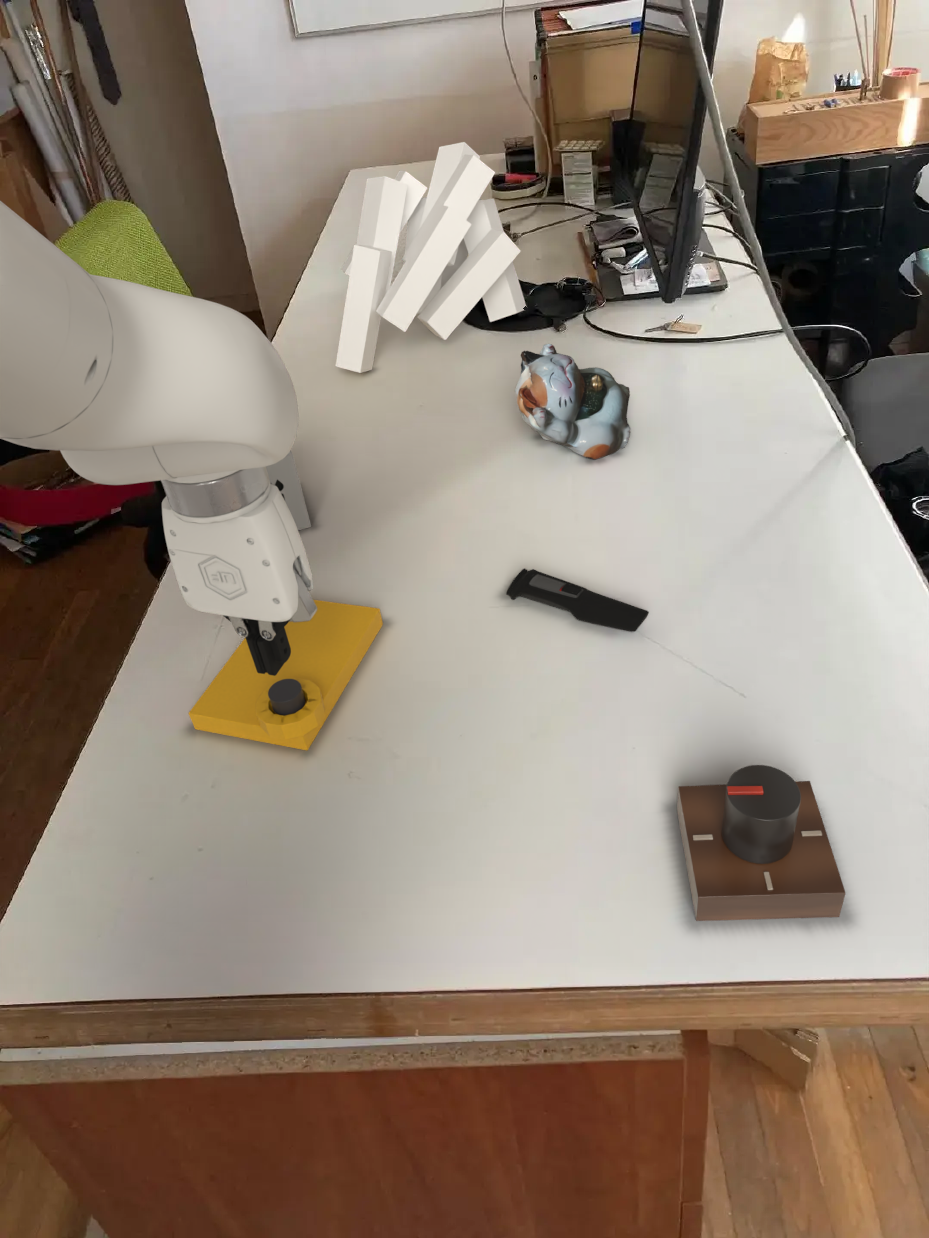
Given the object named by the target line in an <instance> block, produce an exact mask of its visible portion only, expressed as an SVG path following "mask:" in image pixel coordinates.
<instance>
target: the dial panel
mask: <svg viewBox="0 0 929 1238" xmlns="http://www.w3.org/2000/svg"><path fill="white" fill-rule="evenodd" d="M794 781H795V780H794ZM795 782H796V784H797V786H798V788H799V790H800V794H801V801H800V806H799V812H798V817H797V822H796V828H795V833H794V838H793V843H792V847H791V850H790V851H789V853H788V854H787V855H786V856H785V857H784V858H782V859H780V860H779V861H776V862H773V863H768V864H757V863H751V862H748V861H745V860H743V859H741V858H739V857H737V856H736V855H735V854H733V853H732V852H731V851H730V850H729V849H728V847H727V846H726V844H725V843H724V840H723V837H722V823H723V814H724V805H725V796H726V786H727V783H726V784H703V785H701V784H700V785H679V786H678V788H677V803H676V813H677V818H678V825H679V830H680V836H681V842H682V848H683V853H684V859H685V864H686V871H687V877H688V882H689V883H688V884H689V888H690V894H691V899H692V900H691V901H692V906H693V911H694V917H695V918H694V919H695V921H696V922H708V921H709V922H710V921H711V922H713V921H743V920H748V921H749V920H776V919H777V920H781V919H785V920H786V919H818V918H819V919H821V918H840V917H841V916H840V915H841V912H842V909H843V905H844V900H845V897H846V890H845V886H844V884H843V881H842V877H841V874H840V871H839V867H838V865H837V862H836V858H835V856H834V851H833V850H832V845H831V842H830V839H829V837H828V833H827V830H826V828H825V824H824V821H823V818H822V814H821V812H820V808H819V805H818V802H817V798H816V795H815V793H814V790H813V786H812V784H811V781H810V780H798V781H797V780H796V781H795Z"/></svg>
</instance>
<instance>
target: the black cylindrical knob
mask: <svg viewBox="0 0 929 1238" xmlns="http://www.w3.org/2000/svg"><path fill="white" fill-rule="evenodd" d="M268 696H269V699H270V702H271V705H272V708H273V711H274V712H275V713H276V714H278V715H282V716H285V715H290V714H294V713H296V712H297V711H299V710H301V709H302V708H303V707H304V705H305V697H304V693H303V690H302V687H301V684H300V683H299V682H298V681H297V680H294V679H283V680H280V681H278V682H276V683H274V684H273V685H272V686H271V687H270V689H269V691H268Z"/></svg>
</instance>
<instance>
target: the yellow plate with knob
mask: <svg viewBox="0 0 929 1238" xmlns="http://www.w3.org/2000/svg"><path fill="white" fill-rule="evenodd" d="M313 601H314V602H315V604H316V606H317V611H316V613H315V614H314V616H313V617H312V618H311V620H310V621H305V622H288V623H287V625H286V626H284V628H285V631H286V634H287V638H288V641H289V644H290V648H291V655H290V657H289V659H288V660H287V661H286V662H285V663H284V664H283V666H282V667H281V669H280V670H279V672H278V673H277V675H275V676H273V675H269V674H268V673H265V674H261V673H257V670H256V667H255V664H254V661H253V658H252V656H251V653H250V650H249V647H248V644H247V641H246V638H245V637H243V640H242V641H241V642H240V644H239V645H237V648H236V649H235V650H234V651H233V653H232V654H231V656H229V659H228V660H227V661H226V662H225V663H224V665H223V666H222V668H221V669H220V670H219V671H218V673H217V674H216V676H215V677H214V678H213V680H211V682H210V683H209V685H208V686H207V688H206V689H205V690H204V691H203V693H202V695H201V696H199V698H198V700H197V701H196V702H195V704H194V705H193V706H192V708H191V709H190V710H189V712H188V717H189V718H190V721H191V723H192V726H193V728H194V729H195V730H198V731H202V732H207V733H213V734H219V735H223V736H228V737H234V738H239V739H244V740H249V741H254V742H260V743H265V744H271V745H276V746H280V747H281V746H282V747H287V748H292V749H297V750H303V751H309V749H310V747H311V746H312V744H313V742H314V741H315V739H316V737H317V736H318V734H319V733H320V731H321V729H322V727H323V726H324V724H325V722H326V721H327V719H328V717H329V716H330V714H331V712H332V711H333V710H334V707H335V706H336V704H337V702H338V701H339V699H340V698H341V696H342V694H343V692H344V691H345V689H346V687H347V685H348V684H349V683H350V681H351V679H352V677H353V675H354V674H355V672H356V671H357V669H358V668H359V665H360V664H361V662H362V661H363V659H364V657H365V656H366V654H367V652H368V650H369V649H370V647H371V646H372V644H373V642H374V640H375V639H376V637H377V635H378V634H379V632H380V630H381V629H382V627H383V625H384V621H383V618H382V617H383V616H382V613H381V609H380V608H379V607H372V606H366V605H365V606H364V605H356V604H349V603H348V604H347V603H342V602H336V601H335V602H334V601H328V600H320V599H319V600H318V599H313ZM283 679H294V680H297V681H298V682H299V683H300V684H301V687H302V690H303V693H304V697H305V705H304V707H303V708H302V709H301V710H299V711H297V712H296V713H294V714H290V715H285V716H282V715H278V714H276V713H275V712H274V711H273V708H272V705H271V702H270V699H269V696H268V691H269V689H270V687H271V686H272V685H273V684H274V683H276V682H278V681H280V680H283Z"/></svg>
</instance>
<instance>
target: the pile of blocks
mask: <svg viewBox="0 0 929 1238" xmlns="http://www.w3.org/2000/svg"><path fill="white" fill-rule="evenodd" d="M495 174H496V171H494V170H493V169H492V168H491V167H489V166H488V164H486V163H484V162H483V161H482V160H481V156H480V155H479V154H478V153H477V152H476V151H475V150H474V149H473V148H472V147H471V146H469V144H468V143H466V141H462V142H457V143H452V144H446V145H441V146H439V147H438V150H437V153H436V159H435V163H434V167H433V170H432V175H431V178H430V184H429V187H427V186H426V185H424V184H423V183H422V182H420V180H418V179H417V178H416V177H415V176H413V175H412V174H411V173H409V172H408V171H406V170H398V172H397V174H396V176H395V177H394V178H392V177H390V176H386V175H383V176H375V177H368V178H366V181H365V188H364V194H363V200H362V207H361V212H360V219H359V225H358V232H357V238H356V242H355V244H354V245H353V247H352V249H351V250H350V252H349V254H348V255H347V257H346V259H345V260H344V262H343V264H342V265H341V267H340V271H341V272H343V273H344V274H345V275H346V276H348V283H347V284H348V285H347V290H346V296H345V301H344V302H345V303H344V308H343V315H342V322H341V328H340V336H339V341H338V347H337V354H336V361H335V367H336V368H340V369H344V370H348V371H351V372H355V373H358V374H361V373H366V372H368V371H372V370H373V368H374V362H375V361H374V360H375V355H376V350H377V343H378V339H379V332H380V325H381V319H382V318H383V319H385V320H386V321H387V322H389V323H391V324H392V325H394V326H395V327H397V328H398V329H399V330H401V331H402V332H404V333H406V332H407V330H408V328H409V327H410V325H411V324H412V322H413V320H414V319H415V318H417V319H418V320H419V321H420V322H421V323H422V324H423V325H424V326H425V327H426V328H427V329H428V330H430V332H432V334H433V335H435V336H436V337H437V338H440V339H442V340H444V341H446V340H447V339H449V337H450V336H451V334H452V333H453V332H454V330H455V329H457V327H458V326H459V325H460V323H461V322H462V321H463V320H464V319H465V318H466V316H468V314H469V313H470V312H471V310H473V308H475V306H476V305H477V304H478V302H479V301H480V300H481V299H482V301H483V304H484V308H485V311H486V314H487V316H488V321H489V323H492V322H495V321H498V320H502V319H504V318H506V317H510V316H512V315H516V314H518V313H521V312H523V311H525V310H524V309H523V308H524V307H525V306H526V307H527V304H526V301H525V297H524V293H523V291H522V287H521V284H520V280H519V277H518V275H517V271H516V268H515V264H514V260H515V259H516V257H517V256H518V255H519V254H520V253H521V252H522V250H521V249H520V248H519V247H518V246H517V245H516V244H515V243H514V242H513V241H512V239H511V238H510V237H509V236H508V235H507V233H506V232H505V231H504V227H503V224H502V221H501V217H500V214H499V211H498V208H497V205H496V201H495V198H487V199H481V197H482V195H483V193H484V192H485V190H486V189H487V187H488V185H489V183H490V182H491V181H492V179H493V177H494V175H495ZM427 190H428V191H427ZM426 192H427V196H424V195H425V193H426ZM423 196H424V197H423ZM405 226H406V234H405V243H404V244H405V245H404V253H403V256H402V257H401V260H402V261H403V263H402V267H401V269H399V272H398V273H397V275H396V277H394V278H395V279H394V280H393V282H392V279H393V273H394V267H395V262H396V255H397V250H398V244H399V238H400V234H401V232H402V231H403V229H404V227H405Z"/></svg>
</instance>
